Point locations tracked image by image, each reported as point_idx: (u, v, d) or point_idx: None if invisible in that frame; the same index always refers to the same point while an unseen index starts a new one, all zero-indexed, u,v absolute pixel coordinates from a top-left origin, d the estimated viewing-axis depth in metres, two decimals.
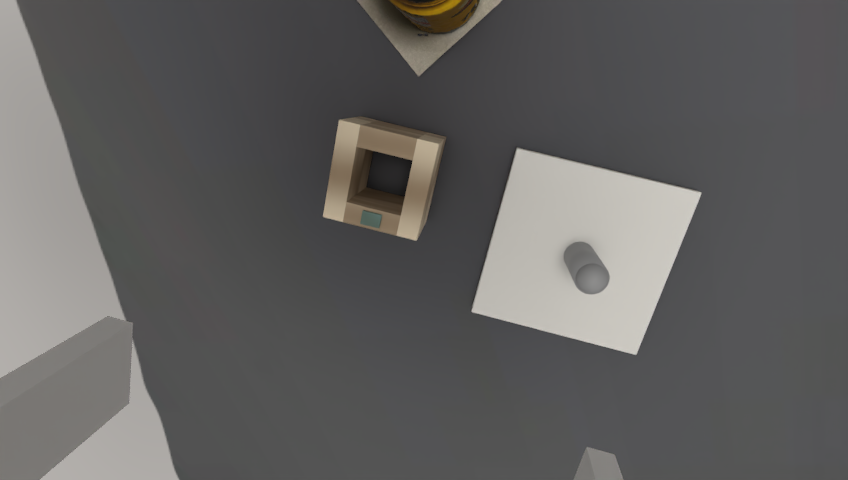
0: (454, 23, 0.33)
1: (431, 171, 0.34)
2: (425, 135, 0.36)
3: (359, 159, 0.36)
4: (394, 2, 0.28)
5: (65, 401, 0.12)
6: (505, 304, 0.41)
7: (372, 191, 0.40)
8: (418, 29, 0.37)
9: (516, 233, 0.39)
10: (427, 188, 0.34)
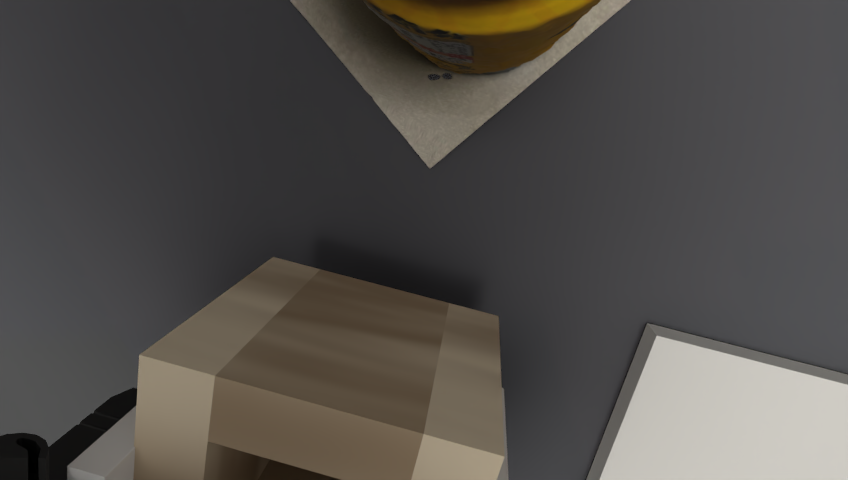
0: (534, 54, 0.12)
1: None
2: (446, 347, 0.12)
3: None
4: None
5: None
6: None
7: None
8: (430, 64, 0.16)
9: None
10: None
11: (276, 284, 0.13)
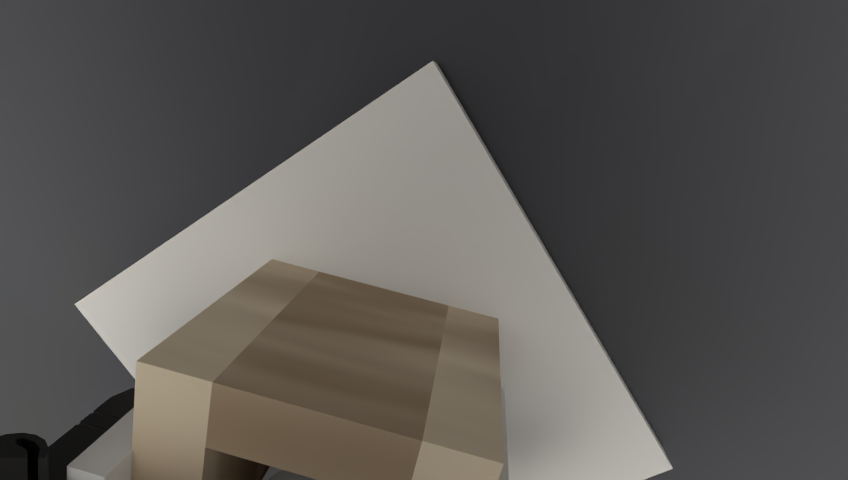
0: None
1: None
2: (445, 351, 0.12)
3: None
4: None
5: None
6: (153, 347, 0.16)
7: None
8: None
9: (280, 238, 0.15)
10: None
11: (274, 287, 0.13)
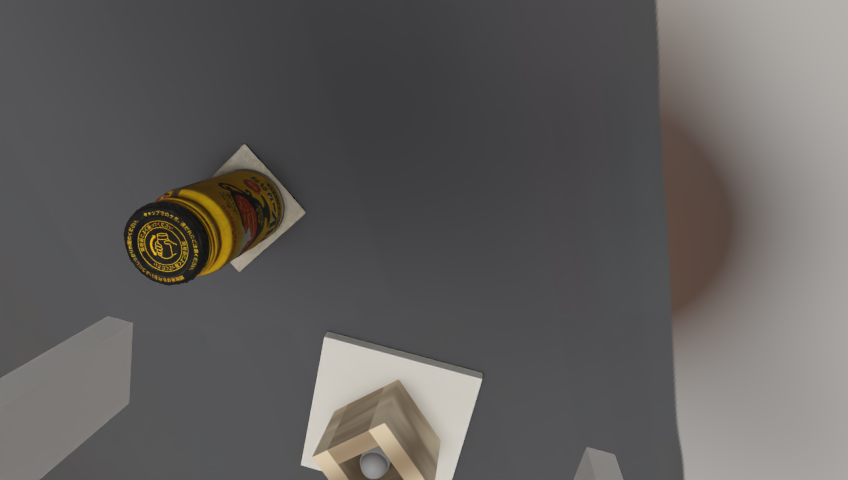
0: None
1: (397, 442, 0.38)
2: (379, 403, 0.41)
3: (351, 460, 0.41)
4: None
5: (65, 401, 0.12)
6: None
7: None
8: None
9: (331, 404, 0.45)
10: (406, 454, 0.38)
11: (336, 419, 0.43)
